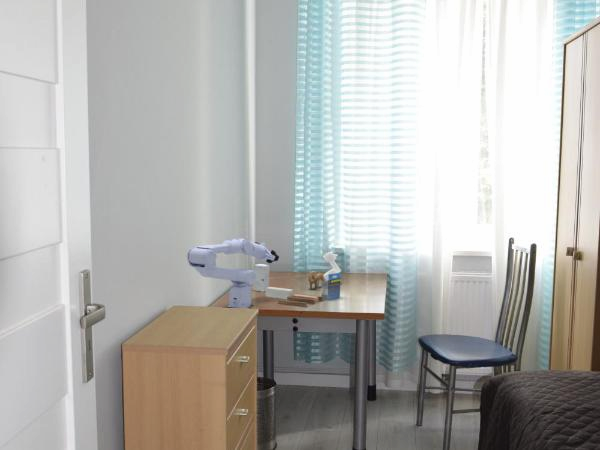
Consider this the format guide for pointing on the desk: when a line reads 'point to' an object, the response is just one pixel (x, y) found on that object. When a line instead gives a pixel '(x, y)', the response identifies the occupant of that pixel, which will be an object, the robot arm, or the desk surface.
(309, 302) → the walnut drying rack
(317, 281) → the lion figurine
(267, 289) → the strip
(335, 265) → the voxel character
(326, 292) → the label tape box
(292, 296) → the terracotta strip
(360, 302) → the desk surface
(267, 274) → the skincare box
